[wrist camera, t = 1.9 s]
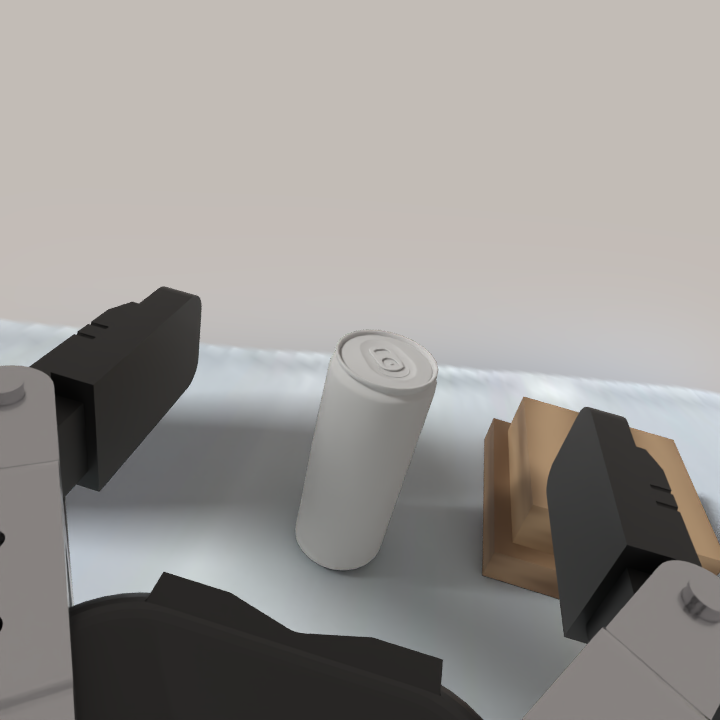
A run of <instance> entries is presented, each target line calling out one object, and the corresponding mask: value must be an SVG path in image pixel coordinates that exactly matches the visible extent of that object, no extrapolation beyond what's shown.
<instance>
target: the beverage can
mask: <svg viewBox="0 0 720 720" xmlns="http://www.w3.org/2000/svg"><path fill="white" fill-rule="evenodd" d="M437 374H438V366H437V362H436V360H435V359H434V357H433V356H432V354H431V353H430V352H429V351H427V350H426V349H425V348H424V347H423V346H421V345H420V344H418V343H416V342H415V341H413V340H411V339H409V338H407V337H404V336H402V335H398V334H395V333H392V332H386V331H381V330H360V331H354V332H351V333H348V334H346V335H345V336H343V337H342V338H341V339H340V340H339V342H338V344H337V345H336V350H335V351H334V353H333V355H332V357H331V358H330V362H329V366H328V371H327V375H326V380H325V385H324V389H323V394H322V398H321V403H320V408H319V412H318V417H317V421H316V426H315V431H314V436H313V440H312V445H311V450H310V455H309V461H308V466H307V471H306V477H305V482H304V487H303V492H302V497H301V502H300V507H299V511H298V516H297V520H296V527H295V534H296V540H297V543H298V544H299V546H300V548H301V550H302V551H303V552H304V553H305V554H306V555H307V556H308V557H309V558H310V559H311V560H312V561H314V562H316V563H317V564H319V565H321V566H323V567H326V568H329V569H333V570H351V569H356V568H359V567H361V566H364V565H366V564H367V563H369V562H370V561H371V560H372V559H374V558H375V556H376V555H377V553H378V551H379V550H380V547H381V544H382V541H383V539H384V536H385V533H386V530H387V527H388V524H389V522H390V519H391V516H392V513H393V510H394V507H395V504H396V502H397V499H398V496H399V493H400V490H401V487H402V485H403V482H404V479H405V476H406V473H407V470H408V467H409V465H410V462H411V459H412V456H413V453H414V450H415V447H416V445H417V442H418V439H419V436H420V433H421V430H422V428H423V425H424V422H425V419H426V416H427V413H428V410H429V408H430V405H431V402H432V399H433V396H434V393H435V389H436V384H437V382H436V378H437Z"/></svg>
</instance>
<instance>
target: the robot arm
mask: <svg viewBox="0 0 720 720" xmlns="http://www.w3.org/2000/svg"><path fill="white" fill-rule="evenodd" d="M200 322H201V300H200V298H199V297H198V296H196V295H193V294H189V293H186V292H182V291H178V290H175V289H172V288H168V287H160V288H159V289H157V290H156V291H155V292H153V293H152V294H151V295H150V296H149V297H147V298H146V299H144V300H143V301H142V302H141V303H139V304H138V303H135V302H130V303H127V304H124V305H121V306H118V307H115V308H112V309H108V310H107V311H106V312H104V313H103V314H101V315H100V316H99V317H97V318H96V319H95V320H93V321H92V322H91V325H89V324H88V325H86V326H85V327H83V328H82V329H81V330H79V331H78V333H77V335H75V334H74V335H72V336H71V337H70V338H68V339H67V340H66V341H64V342H63V343H61V344H60V345H59V346H57V347H56V348H54V349H53V350H52V351H50V352H49V353H48V354H46V355H45V356H43V357H42V358H41V359H39V360H38V361H37V362H35V363H34V364H32V365H31V366H30V367H25V366H0V720H483V719H482V718H481V717H480V716H479V715H478V714H477V713H476V712H475V711H474V710H473V709H472V708H471V707H470V706H469V705H468V704H467V703H466V702H464V701H463V700H462V699H460V698H459V697H458V696H457V695H455V694H454V693H453V692H451V691H450V690H448V689H447V688H445V687H444V686H442V685H441V677H442V664H443V660H442V659H439V658H436V657H433V656H430V655H426V654H423V653H420V652H417V651H414V650H411V649H407V648H404V647H401V646H398V645H395V644H391V643H388V642H385V641H382V640H379V639H376V638H372V637H355V636H338V635H321V634H305V633H298V632H294V631H292V630H290V629H288V628H286V627H285V626H283V625H282V624H280V623H278V622H277V621H275V620H274V619H272V618H270V617H269V616H267V615H265V614H264V613H262V612H261V611H259V610H257V609H256V608H254V607H253V606H251V605H249V604H248V603H246V602H245V601H243V600H241V599H240V598H238V597H237V596H235V595H233V594H232V593H230V592H226V591H223V590H220V589H217V588H214V587H211V586H207V585H204V584H201V583H198V582H195V581H192V580H188V579H185V578H182V577H179V576H176V575H173V574H169V573H166V572H163V573H162V575H161V577H160V578H159V580H158V582H157V583H156V585H155V587H154V588H153V590H152V592H151V593H123V594H117V595H111V596H104V597H101V598H97V599H93V600H89V601H85V602H83V603H80V604H77V605H75V606H74V601H73V589H72V576H71V563H70V550H69V537H68V524H67V511H66V500H65V496H66V495H67V494H68V493H69V491H70V490H71V489H72V488H73V487H74V486H75V485H76V484H77V485H80V486H83V487H86V488H90V489H93V490H96V491H99V492H100V490H101V489H102V488H103V487H104V486H105V485H106V483H107V482H108V481H109V480H110V479H111V477H112V476H113V475H114V474H115V473H116V472H117V470H118V469H119V468H120V467H121V466H122V465H123V463H124V462H125V461H126V460H127V459H128V457H129V456H130V455H131V454H132V453H133V452H134V450H135V449H136V448H137V447H138V446H139V445H140V443H141V442H142V441H143V440H144V439H145V437H146V436H147V435H148V434H149V433H150V432H151V430H152V429H153V428H154V427H155V426H156V425H157V423H158V422H159V421H160V420H161V419H162V417H163V416H164V415H165V414H166V413H167V412H168V410H169V409H170V408H171V407H172V406H173V405H174V403H175V402H176V401H177V400H178V399H179V397H180V396H181V395H182V394H183V393H184V392H185V390H186V389H187V388H188V387H189V385H190V384H191V382H192V380H193V377H194V375H195V372H196V369H197V364H198V356H199V339H200V324H201V323H200ZM671 491H672V490H671V488H670V485H669V483H668V480H667V478H666V475H665V473H664V470H663V469H662V468H661V467H660V465H659V464H658V463H657V462H656V461H655V460H654V458H653V457H652V456H651V455H650V454H649V453H648V451H647V450H646V449H643V448H640V447H636V444H635V441H634V439H633V436H632V433H631V430H630V427H629V425H628V422H627V420H626V419H625V418H624V417H622V416H618V415H615V414H611V413H607V412H604V411H600V410H597V409H593V408H590V407H584V408H583V409H582V410H581V411H580V412H579V414H578V416H577V417H576V419H575V421H574V423H573V425H572V427H571V429H570V431H569V433H568V435H567V437H566V439H565V440H564V442H563V444H562V446H561V448H560V450H559V452H558V454H557V456H556V458H555V460H554V462H553V464H552V466H551V469H550V472H549V475H548V480H547V487H546V495H547V503H548V511H549V519H550V527H551V535H552V543H553V551H554V559H555V567H556V575H557V583H558V591H559V599H560V608H561V616H562V624H563V632H564V637H567V638H570V639H573V640H576V641H580V642H583V643H586V644H587V645H586V646H585V648H584V649H583V650H582V651H581V652H580V653H579V654H578V656H577V657H576V658H575V659H574V660H573V661H572V662H571V664H570V665H569V666H568V667H567V668H566V669H565V670H564V672H563V673H562V674H561V675H560V676H559V677H558V678H557V680H556V681H555V682H554V683H553V684H552V685H551V686H550V688H549V689H548V690H547V691H546V692H545V693H544V694H543V696H542V697H541V698H540V699H539V700H538V701H537V702H536V704H535V705H534V706H533V707H532V708H531V709H530V710H529V712H528V713H527V714H526V715H525V716H524V717H523V718H522V720H720V578H719V577H718V576H716V575H715V574H713V573H712V572H710V571H708V570H706V569H704V568H702V565H701V563H700V560H699V558H698V555H697V553H696V550H695V548H694V545H693V543H692V540H691V538H690V535H689V533H688V530H687V528H686V525H685V523H684V520H683V518H682V515H681V513H680V512H679V511H678V505H677V503H676V500H675V498H674V495H673V494H671Z"/></svg>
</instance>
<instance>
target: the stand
mask: <svg viewBox="0 0 720 720" xmlns="http://www.w3.org/2000/svg"><path fill="white" fill-rule="evenodd" d="M578 414H579V412H575V411H572V410H568V409H565V408H561V407H558V406H554V405H551V404H548V403H544V402H541V401H537V400H534V399H530V398H527V397H523V399H522V401H521V403H520V405H519V408H518V410H517V412H516V414H515V416H514V418H513V421H512V423H508V422H505V421H502V420H498V419H495V418H494V419H493V421H492V423H491V425H490V428H489V430H488V432H487V435H486V437H485V439H484V500H483V563H482V575H483V576H487V577H490V578H493V579H496V580H500V581H503V582H506V583H509V584H512V585H516V586H519V587H522V588H525V589H529V590H532V591H535V592H538V593H541V594H545V595H548V596H551V597H554V598H558V599H559V591H558V583H557V575H556V567H555V559H554V551H553V543H552V535H551V527H550V519H549V511H548V503H547V495H546V487H547V480H548V475H549V472H550V469H551V466H552V464H553V462H554V460H555V458H556V456H557V454H558V452H559V450H560V448H561V446H562V444H563V442H564V440H565V439H566V437H567V435H568V433H569V431H570V429H571V427H572V425H573V423H574V421H575V419H576V417H577V416H578ZM630 430H631V433H632V436H633V439H634V441H635V444H636V447H640V448H643V449H646V450H647V451H648V453H649V454H650V455H651V456H652V457H653V458H654V460H655V461H656V462H657V463H658V464H659V465H660V467H661V468H662V469H663V470H664V473H665V475H666V478H667V480H668V483H669V485H670V488H671V490H672V491H671V494H673V495H674V498H675V500H676V503H677V505H678V511H679V512H680V513H681V515H682V518H683V520H684V523H685V525H686V528H687V530H688V533H689V535H690V538H691V540H692V543H693V545H694V548H695V550H696V553H697V555H698V558H699V560H700V563H701V565H702V568H704V569H706V570H708V571H710V572H712V573H713V574H715V575H716V576H717V575H718V574H719V573H720V545H719V542H718V540H717V538H716V536H715V533H714V531H713V529H712V526H711V524H710V522H709V520H708V517H707V515H706V513H705V511H704V508H703V506H702V504H701V501H700V499H699V497H698V495H697V492H696V490H695V488H694V486H693V483H692V481H691V479H690V477H689V474H688V472H687V470H686V467H685V465H684V463H683V461H682V458H681V456H680V454H679V452H678V449H677V447H676V445H675V443H674V440H672V439H668V438H665V437H661V436H658V435H654V434H651V433H647V432H644V431H641V430H637V429H634V428H630Z"/></svg>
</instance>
